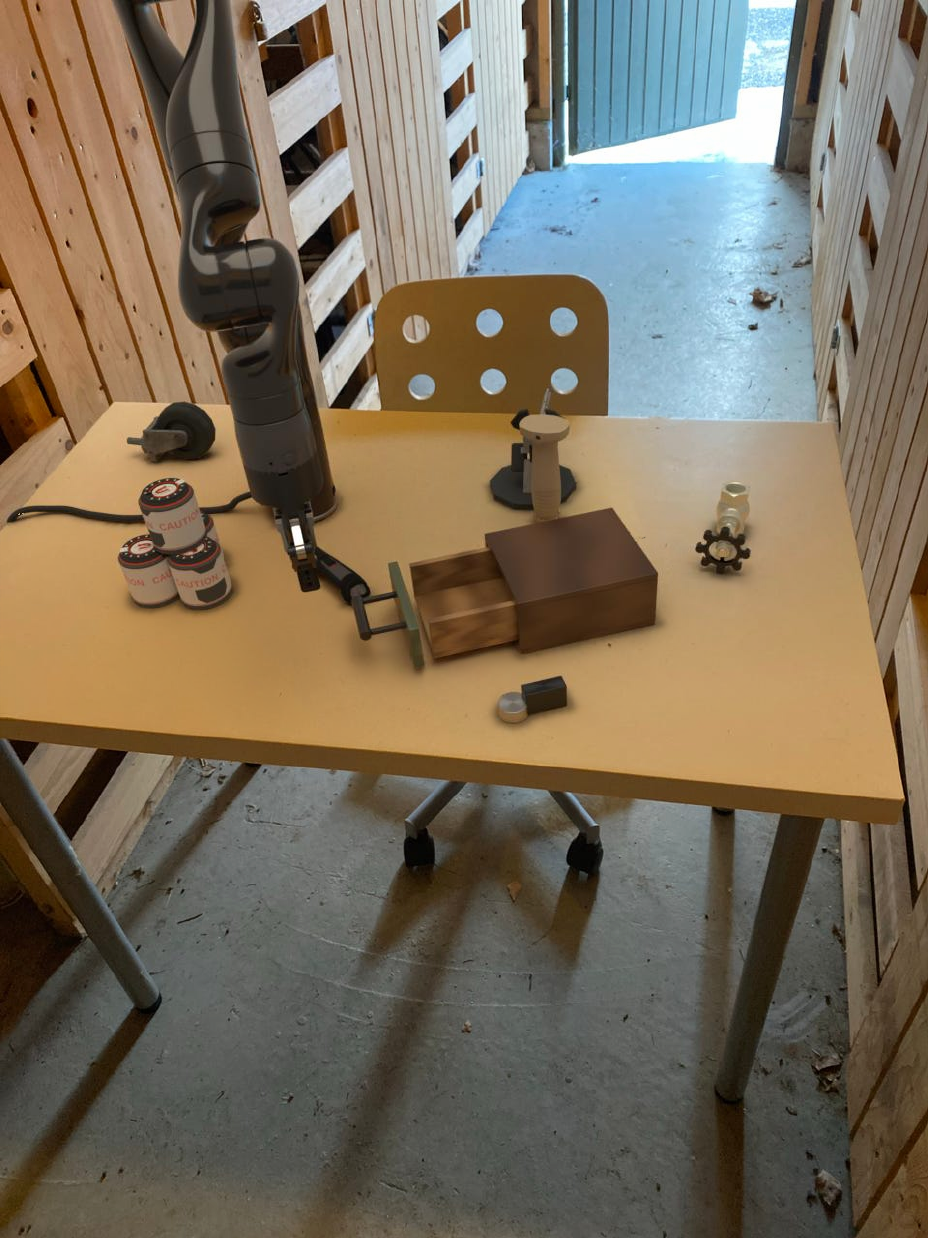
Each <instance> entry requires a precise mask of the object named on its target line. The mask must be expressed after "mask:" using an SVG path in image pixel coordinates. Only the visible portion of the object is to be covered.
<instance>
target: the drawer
mask: <svg viewBox="0 0 928 1238" xmlns="http://www.w3.org/2000/svg"><path fill="white" fill-rule="evenodd" d="M387 565H388V573H389V579H390V584H391V591H389V592H384V593H379V594H375V595H369V597H365V598H362V597H361V596H354V597H353V598H352V600H351V602H352V604H351V607H352V610H353V614H354V618H355V622H356V627H357V631H358V634H359V638H360V640H361V641H364V642H366V641H369V640H371V639H372V637H373V636H377V635H381V634H382V635H383V634H386V633H387V634H388V633H390V632H396V631H399V630H402V631H403V634H404V638H405V641H406V644H407V648H408V651H409V654H410V658H411V661H412V664H413V668H414V669H421V668H424V667H425V666H426V663H425V658H424V651H423V643H422V637H421V630H420V625H419V622H418V620H417V617H416V614H415V611H414V608H413V605H412V602H411V598H410V596H409V593H408V589H407V586H406V584H405V580H404V577H403V575H402V571H401V568H400V565H399V562H398V561H397V560H396V561H390V562H388V563H387ZM408 565H409V571H410V579H411V585H412V592H413V598H414V601H415V604H416V606H417V610H418V612H419V616H420V619H421V622H422V626H423V628H424V630H425V634H426V637H427V640H428V642H429V646H430V648H431V653H432V655H433V657H434V659H438V658H441V657H446V656H447V657H448V656H451V655H455V654H459V653H464V652H468V651H473V650H477V649H482V648H486V647H487V648H488V647H490V646H495V645H499V644H505V643H508V642H513V641H514V640H518V628H517V611H516V603H515V601H514V599H513V597H512V595H511V593H510V591H509V589H508V587H507V584H506V582H505V580H504V578H503V576H502V574H501V572H500V570H499V568H498V565H497V563H496V561H495V559H494V557H493V555H492V553H491V551H490V549H489V547H481V548H476V549H471V550H465V551H462V552H457V553H456V552H455V553H452V554H447V555H443V556H437V557H433V558H428V559H423V560H418V561H413V562H409V563H408ZM392 599H393V602H394V605H395V608H396V611H397V615H398V618H399V621H400V622H396V623H392V624H387V625H381V626H377V627H372V628H371V625H370V621H369V617H368V613H367V610H366V609H367V608H366V606H365V605H368V604H373V603H378V602H383V601H387V600H392ZM514 642H515V641H514Z"/></svg>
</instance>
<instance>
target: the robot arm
mask: <svg viewBox="0 0 928 1238" xmlns="http://www.w3.org/2000/svg"><path fill="white" fill-rule="evenodd" d="M173 1H176V0H111V3H112V6H113V8H114V11H115V13H116V15H117V19H118V22H119V24H120V26H121V29H122V32H123V35H124V37H125V40H126V43H127V46H128V48H129V51H130V53H131V55H132V58H133V62H134V63H135V67H136V71H137V72H138V75H139V78H140V81H141V84H142V87H143V91H144V93H145V97H146V100H147V103H148V107H149V110H150V114H151V117H152V122H153V123H154V124H153V125H154V128H155V131H156V136H157V139H158V142H159V146H160V149H161V153H162V156H163V159H164V162H165V166H166V169H167V172H168V175H169V178H170V180H171V184H172V188H173V190H174V193H175V196H176V199H177V201H178V205H179V207H180V221H181V222H180V228H181V229H180V248H179V258H178V268H177V269H178V270H177V293H178V299H179V302H180V305H181V308H182V310H183V313H184V315H185V316H186V317H187V318H188V320H189V321H190V322H191V323H192V324H193V325H194V326H196V328H197V329H200V330H202V331H204V332H207V333H217V336H218V340H219V342H220V344H221V347H222V348H223V350H224V352H225V353H226V354H225V356H224V357H223V358H222V361H221V365H220V369H221V377H222V380H223V384H224V388H225V392H226V395H227V399H228V403H229V407H230V411H231V414H232V419H233V426H234V435H235V440H236V444H237V447H238V451H239V455H240V458H241V463H242V468H243V470H244V473H245V478H246V482H247V486H248V489H249V491H247V492H243V493H241V494H239V495H237V496H235V497H234V498H232V499H231V500H230V502H229V503H227V504H223V505H218V506H202V507H200V506H199V509H200V510H201V511H203V512H204V513H206V514H207V515H210V514H220V513H225V512H230V511H232V510H234V509H235V508H236V507H237V506H238V504H239V503H242V502H243V501H246V500H249V499H253V500H254V501H255V502H256V503H257V504H259V505H260V506H263V507H266V508H272V511H273V516H274V517H273V519H274V522H275V526H276V531H277V532H278V533H279V534H280V536H281V540H282V544H283V549H284V551H285V553H286V555H287V556H288V557H289V560H290V563H291V569H292V570H293V571H294V573H296V576H297V579H298V583H299V587H300V591H301V592H302V593H312V592H314V591H318V590H320V589H321V581H320V575H318V571H317V564H318V562H317V557H316V555H315V554H314V551H315V547H316V546H317V547H318V543H317V538H316V533H315V528H314V526H315V524H316V523H317V522H319V521H321V520H323V519H325V518H327V517H329V516H330V515H331V514H332V513H334V512H335V510H336V508H337V507H338V504H339V503H338V495H337V489H336V486H335V483H334V480H333V475H332V470H331V466H330V460H329V455H328V449H327V444H326V440H325V434H324V429H323V426H322V425H323V424H322V420H321V415H320V410H319V405H318V400H317V395H316V390H315V386H314V381H313V376H312V372H311V367H310V362H309V357H308V351H307V350H308V349H307V344H306V343H307V342H306V336H305V329H304V323H303V322H304V321H303V315H302V309H301V303H300V273H299V268H298V264H297V262H296V259H295V257H294V255H293V253H292V252H291V251H290V250H289V248H288V247H287V246H286V245H285V244H283V242H281V241H280V240H277V238H272V237H262V238H255V239H249V240H245V241H244V240H243V238H244V235H245V233H246V231H247V229H248V227H249V225H250V222H251V221H252V220H253V219H254V218H255V217H256V216H257V215H258V214H259V211H260V210H261V206H262V205H261V204H262V203H261V193H260V179H259V175H258V170H257V166H256V161H255V157H254V154H253V148H252V145H251V141H250V136H249V132H248V129H247V127H246V122H245V118H244V117H245V116H244V111H243V106H242V98H241V89H240V79H239V78H240V77H239V68H238V56H237V55H238V53H237V45H236V34H235V26H234V17H233V9H232V2H231V0H195V14H194V23H193V29H192V33H191V36H190V40H189V42H188V43H189V44H188V47H187V50H186V52H185V55H183V54H182V53H181V51H180V50H179V49H178V47H177V46H176V45H175V44H174V42H173V41H172V40H171V38H170V36H169V35H168V33H167V31H166V30H165V28H164V27H163V25H162V24H161V22H160V21H159V19H158V18H159V17H158V16H157V15H156V12H155V11H154V8H153V7H152V5H155V4H159V3H160V4H161V3H167V2H173ZM19 513H20V515H18V514H19ZM22 513H24V514H22ZM30 513H68V514H74V515H78V516H81V517H85V518H91V519H97V520H103V521H104V520H105V521H112V522H122V523H125V522H126V523H133V522H136V523H137V522H145V520H144V517H143V515H142V514H115V513H107V512H100V511H93V510H88V509H87V510H86V509H82V508H78V507H74V506H71V505H61V504H60V505H59V504H58V505H55V504H54V505H44V504H43V505H28V506H23V507H20V508H17V509H16V510H14V511H13V512H11V514H10V515H9V516H8V517H7V519H6V523H7V524H8V523H14V522H15V521H16V519H18V518H19V517H20V516H23V515H25V514H30Z"/></svg>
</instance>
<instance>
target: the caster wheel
mask: <svg viewBox="0 0 928 1238" xmlns="http://www.w3.org/2000/svg"><path fill="white" fill-rule="evenodd" d="M216 432H217V431H216V427H215V424H214V422H213V419H212V418H211V417H210V415H209V414H208V413H207V412H206V411H205V410H204V409H203V408H201V407H199V406H198V405H196V404H195V403H190V402H187V401H178V402H172V403H170V404H169V405H167V406H166V407H165V408H163V410H162V411H161V412H160V413H159V415H158V416H157V415H156V416H154V417H153V420H152V421H151V422H150V424H148V426H147V427H146V428H145V429H143V430H142V436H141V437H131V436H128V437H127V438H126V444H127V445H134V446H141V447H140V448H141V450H142V452H143V453H144V454H146V455H147V457H149V459H150V461H151V462H157V463H158V462H159V461H160V460H161V458H162V457H163V456H164V455H165V453H167V452H169V453H170V454H172V455H173V456H175V457H177V458H181V459H184V460H196V459H200V458H202V457H203V456H205V455H206V454H207V453H208V452H209V450H210V449H211V448H212V446H213V445H214V443H215V441H216Z"/></svg>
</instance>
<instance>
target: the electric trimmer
mask: <svg viewBox="0 0 928 1238" xmlns="http://www.w3.org/2000/svg"><path fill="white" fill-rule="evenodd" d="M314 554H315V555H316V557H317V562H318V564H317V571H318V576H322V577H323V578H325V579H326V580H327V581H328V582H329V583H330V584H332V585H333V586H334V587H335V588H337V590H339V592H340V595H341V598H342V599H343V600H344V601H345V603H346V604H351V605H352V602H351V600H352V598H353V597H354V596H361V597H362V598H365V597H370V596H371V594H372V591H371V588H370V586H369V584H368V583H367V582H366V580H365V579H364V578H363V577H362V576H361V575H360V574H358V573H357V572H356V571H355V570H353V569H351V568H350V567H349V566H348V565H346V564H344V563H343V562H342V561H340V560H339V559H337V558H336V557H334V556H333V555H331V554H330V553H329V554H328V553H327V552H326V551H325V550H323V549H322V548H320V547H319V546H318V545H317V546H316V547H315V551H314Z"/></svg>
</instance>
